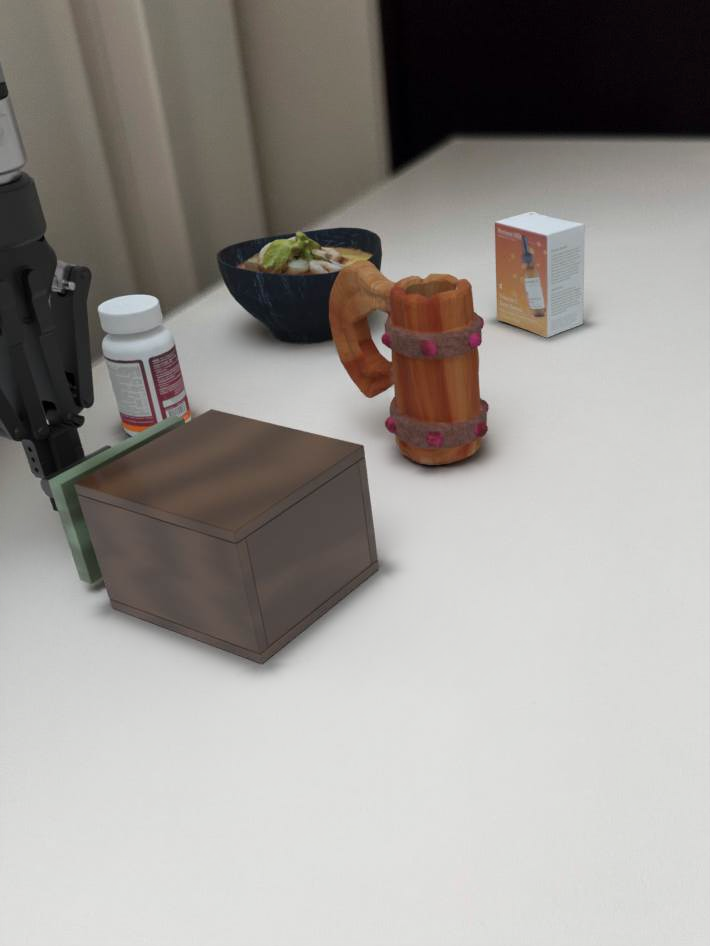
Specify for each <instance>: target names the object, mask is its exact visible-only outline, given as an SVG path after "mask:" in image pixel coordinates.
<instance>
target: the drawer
mask: <svg viewBox="0 0 710 946" xmlns="http://www.w3.org/2000/svg"><path fill="white" fill-rule="evenodd" d="M183 424H185V419H184V418H182V417H178V416H174V415H172V416H170V417H168V418H166V419H164V420H163V421H161V422H159V423H157V424H155V425H153V426H151V427H149V428H147V429H145V430H144V431H142V432H140V433H138V434H136V435H134V436H130V437H128V438H126V439H124V440H122V441H121V442H119V443H117V444H114V445H113V446H111V445H109V444H108V445H105V446H103V447H101V448H99V449H97V450H95V451H93V452H91V453H89V454H87V455H85V457H83V458H81V459H79V460H78V461H76V462H74V463H72V464H70V465H68V466H66V467H64V468H62V469H60V470H58V471H56V472H55V473H53V474H51V475H49V476H47V477H45V478H43V479H41V480H40V488H41V489H42V491H43V492H44V494H45V495H46V496H48V498H49V497H51V498H54V500H55V503H56V506H57V509H58V511H57V512H58V515H59V518H60V521H61V524H62V528H63V531H64V534H65V537H66V540H67V543H68V547H69V549H70V553H71V555H72V559H73V562H74V565H75V567H76V570H77V574H78V577H79V580H80V581H82V582H84V583H87V584H89V585H93V584H94V583H96V582H98V581H99V580H101V579H103V577H102V574H101V570H100V567H99V564H98V561H97V557H96V554H95V551H94V548H93V544H92V541H91V538H90V535H89V531H88V528H87V525H86V522H85V518H84V515H83V512H82V509H81V505H80V502H79V499H78V496H77V492H76V489H75V486H74V483H75V482H77V481H79V480H81V479H83V478H84V477H86V476H88V475H90V474H92V473H94V472H96V471H97V470H99V469H101V468H103V467H105V466H107V465H109V464H110V463H112V462H114V461H116V460H118V459H120V458H122V457H123V456H125V455H127V454H129V453H131V452H133V451H135V450H136V449H138V448H140V447H142V446H144V445H146V444H148V443H149V442H151V441H153V440H155V439H157V438H159V437H161V436H162V435H164V434H166V433H168V432H170V431H172V430H174V429H175V428H177V427H179V426H181V425H183Z"/></svg>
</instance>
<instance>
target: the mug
mask: <svg viewBox="0 0 710 946" xmlns="http://www.w3.org/2000/svg"><path fill="white" fill-rule="evenodd" d="M472 288H473V286H472V284H471V282H470V281H469V280H468V279H467V278H461V279H458V278H457V277H456V276H454V275H451V274H449V273H429V274H428V275H427V276H426V277H425V278H422V277H421V276H419V275H410V276H407V277H404V278H401V279H399V280H397V281H396V282H395V281H392V280H390V279H388V277H386V276H385V275H384V274H383V273H382V271H381V270H380V271H379V270H378V269H377V268H376V267H375V265H374V264H372V263H371V262H370V261H365V260H360V261H357V262H355V263H353V264H350V265H348V266H346V267H344V268H343V269H341V271H340V272H339V274H338V276H337V278H336V280H335V282H334V285H333V287H332V290H331V294H330V299H329V321H330V326H331V331H332V336H333V339H332V340H333V344H334V346H335V350H336V352H337V355H338V357H339V361H340V363H341V365H342V366H343V368H344V370H345V371H346V373H347V374H348V377H349V378H350V380H351V381H352V382H353V383H354V385H355V386H356V387H357V389H358V391H360V392H361V393H362V394H363V396H364V397H366V398H368V399H373V398H375V397H376V396H379V395H380V394H382V393H384V392H386V391H388V390H389V389H390V388H391V387H392V386H393V387H394V389H393V390H394V396H393V397H392V399H391V401H390V405H389V416H388V417H387V418H386V419H385V421H384V427H385V428H386V430H387V431H388V432H390V433H391V434H394V435H395V436H394V437H395V439H394V440H395V444H396V446H397V448H398V449H399V451H400V453H401V454H403V455H404V456H406V458H408V459H410V460H411V461H412V462H415V463H417V464H420V465H426V466H427V465H428V466H433V465H435V466H442V465H449V464H452V463H456V462H459V461H462V460H465V459H466V458H468V457H470V456H473V455H474V454H475V453H476V452H477V451H478V450H479V448H481V446H482V445H483V437H484V436H486V434H487V433H488V431H489V427H488V425H487V424H488V418H487V417H488V412H489V407H490V405H489V403H488V402H487V400H485V399H483V398H481V391H480V390H481V388H480V374H479V373H480V355H479V354H480V353H479V348H478V347H480V346H481V345H482V342H483V340H482V339H483V336H482V335H483V332H482V329H483V328H484V326H485V321H484V318H483V317H482V316H481V315H479V314H478V313H477V312H476V311H475V307H474V297H473V295H474V294H473V289H472ZM376 311H381V312H384V313H386V314H387V318H386V320H385V322H384V333H382V335H381V337H380V340H381V343H382V345H383V346H385V347H387V348H388V349H390V350H391V361H390V360H388V359H387V358H386V357H385V356H384V355H383V354H381V352H380V350H379V349H378V347H377V345H376V343H375V342H374V340H373V337H372V333H371V328H370V323H369V319H368V316H370V315H371V314H373V313H375V312H376Z"/></svg>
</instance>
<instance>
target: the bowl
mask: <svg viewBox="0 0 710 946" xmlns="http://www.w3.org/2000/svg"><path fill="white" fill-rule="evenodd" d="M381 239H382V238H380V236H379V235H378V234H377V233H376V232H374V231H372V230H369V229H367V228H366V229H365V228H360V227H332V228H331V227H330V228H323V229H314V230H307V231H299V230H297V232H293V233H285V234H279V235H272V236H266V237H259V238H255V239H254V238H253V239H250V240H245V241H241V242H238V243H234V244H230V245H228V246H226V247H224V248H222V249H220V250H219V251H217V253H216V259H217V265H218V270H219V272H220V275H221V277H222V280H223V283H224V284H225V287H226V288H227V290H228V292H229V293H230V296H232V298H233V299H234V300H235V301H236V302H237V303H238V305H239V306H241V307H242V308H243V309H244V310H245V311H246V312H247V313H248V314H249V315H251V316H252V318H254V319H256V320H257V321H259V322H260V323H262V324H263V325H265V326H266V328H267V329H268V332H270V334H271V335H272V336H273V337H274V338H275V339H276V340H278V341H281V342H284V343H289V344H313V343H314V344H315V343H321V342H325V341H330V340H333V336H332V331H331V326H330V321H329V299H330V294H331V290H332V287H333V285H334V282H335V280H336V278H337V276H338V274H339V272H340V271H341V269H343V268H344V267H346V266H348V265H350V264H353V263H355V262H357V261H360V260H365V261H370V262H371V263H372V264H374V265H375V267H376V268H377V269H378V270H379V271H380V272H381V270H382V261H383V247H382V240H381Z"/></svg>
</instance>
